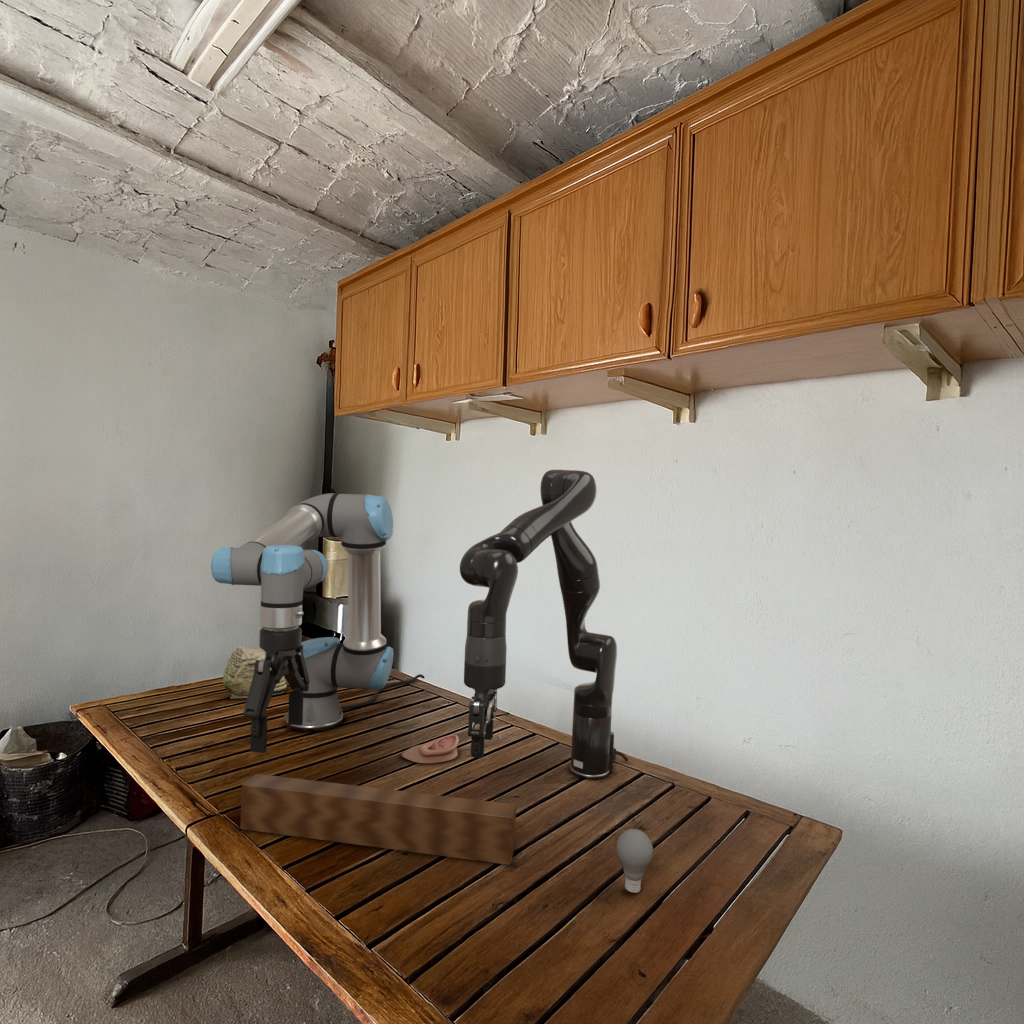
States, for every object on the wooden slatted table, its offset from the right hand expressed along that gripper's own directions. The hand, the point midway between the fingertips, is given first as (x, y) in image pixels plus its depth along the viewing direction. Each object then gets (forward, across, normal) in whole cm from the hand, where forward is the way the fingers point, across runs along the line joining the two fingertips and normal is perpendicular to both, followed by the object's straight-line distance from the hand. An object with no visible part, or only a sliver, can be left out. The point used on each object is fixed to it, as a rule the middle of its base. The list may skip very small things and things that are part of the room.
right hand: (482, 747), depth 115 cm
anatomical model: (+20, +40, +20) cm, 49 cm away
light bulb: (+20, -5, -27) cm, 34 cm away
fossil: (+20, +71, +86) cm, 113 cm away
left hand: (+2, 0, +40) cm, 40 cm away
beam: (+19, 0, +20) cm, 28 cm away
